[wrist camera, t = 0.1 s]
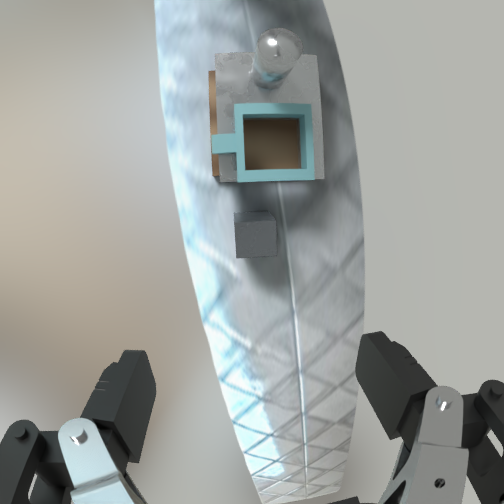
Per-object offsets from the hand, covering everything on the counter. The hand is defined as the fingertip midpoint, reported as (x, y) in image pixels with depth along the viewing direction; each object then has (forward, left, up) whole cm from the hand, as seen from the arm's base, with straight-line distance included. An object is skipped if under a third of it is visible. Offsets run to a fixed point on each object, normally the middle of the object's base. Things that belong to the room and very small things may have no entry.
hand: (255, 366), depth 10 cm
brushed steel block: (+1, +2, -29) cm, 29 cm away
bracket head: (-10, +3, -24) cm, 26 cm away
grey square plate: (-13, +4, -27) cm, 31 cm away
